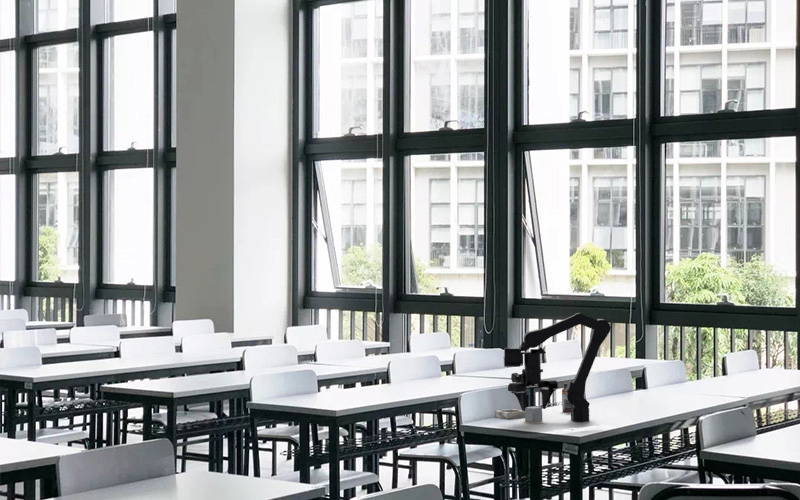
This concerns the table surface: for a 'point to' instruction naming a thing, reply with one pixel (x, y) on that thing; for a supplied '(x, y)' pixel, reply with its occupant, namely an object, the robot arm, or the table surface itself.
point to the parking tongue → (532, 423)
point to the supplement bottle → (565, 401)
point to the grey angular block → (533, 414)
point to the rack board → (510, 414)
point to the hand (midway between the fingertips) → (533, 410)
